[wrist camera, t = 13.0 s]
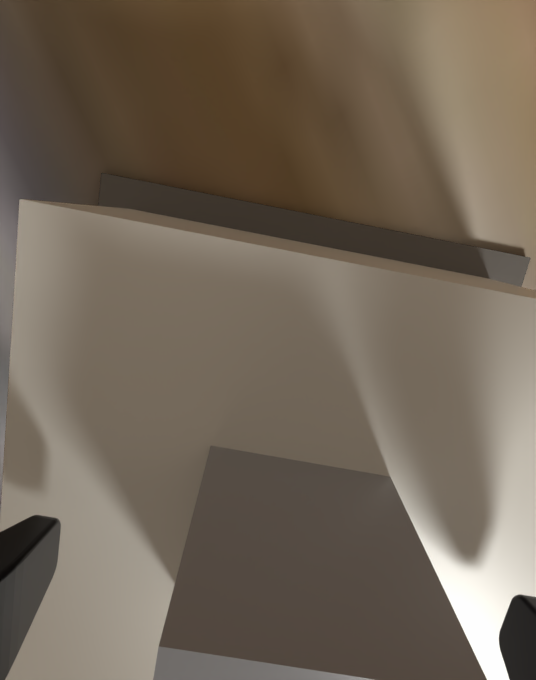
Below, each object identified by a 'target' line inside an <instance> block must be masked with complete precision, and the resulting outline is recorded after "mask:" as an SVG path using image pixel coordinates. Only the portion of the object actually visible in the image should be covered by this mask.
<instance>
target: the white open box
mask: <svg viewBox="0 0 536 680" xmlns="http://www.w3.org/2000/svg"><path fill="white" fill-rule="evenodd" d="M33 515H42V516H48V517H54V518H58V519H59V520H60V523H61V532H60V542H59V552H58V562H57V567H56V570H55V573H54V576H53V578H52V580H51V583H50V585H49V587H48V589H47V591H46V594H45V596H44V598H43V600H42V602H41V604H40V607H39V609H38V611H37V613H36V615H35V618H34V620H33V622H32V624H31V626H30V628H29V631H28V633H27V635H26V637H25V639H24V641H23V644H22V646H21V648H20V650H19V652H18V655H17V657H16V659H15V661H14V663H13V665H12V667H11V669H10V671H9V673H8V675H7V677H6V679H5V680H510V679H509V676H508V673H507V670H506V667H505V663H504V660H503V657H502V654H501V651H500V646H499V632H500V629H501V626H502V624H503V621H504V618H505V616H506V613H507V610H508V608H509V605H510V602H511V600H512V598H513V597H514V596H516V595H519V594H521V595H527V596H534V597H536V291H535V290H531V289H527V288H523V287H519V286H516V285H512V284H508V283H504V282H500V281H496V280H493V279H488V278H483V277H478V276H473V275H468V274H463V273H457V272H452V271H447V270H442V269H437V268H432V267H427V266H421V265H416V264H411V263H406V262H401V261H396V260H391V259H385V258H380V257H375V256H370V255H365V254H360V253H355V252H349V251H344V250H339V249H334V248H329V247H324V246H319V245H313V244H308V243H303V242H298V241H293V240H288V239H283V238H277V237H272V236H267V235H262V234H257V233H252V232H247V231H241V230H236V229H231V228H226V227H221V226H216V225H211V224H205V223H200V222H195V221H190V220H185V219H180V218H175V217H169V216H164V215H159V214H154V213H149V212H144V211H139V210H133V209H127V208H116V207H104V206H93V205H82V204H71V203H60V202H49V201H38V200H27V199H20V200H19V216H18V233H17V249H16V266H15V282H14V299H13V315H12V332H11V348H10V365H9V382H8V398H7V415H6V431H5V448H4V464H3V481H2V497H1V514H0V532H1V531H3V530H5V529H7V528H9V527H11V526H13V525H15V524H17V523H19V522H21V521H23V520H25V519H27V518H29V517H31V516H33Z"/></svg>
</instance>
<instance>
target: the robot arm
mask: <svg viewBox="0 0 536 680" xmlns="http://www.w3.org/2000/svg"><path fill="white" fill-rule="evenodd" d="M60 532H61V523H60V520H59V519H58V518H54V517H48V516H42V515H33V516H31V517H29V518H27V519H25V520H23V521H21V522H19V523H17V524H15V525H13V526H11V527H9V528H7V529H5V530H3V531H1V532H0V680H5V679H6V677H7V675H8V673H9V671H10V669H11V667H12V665H13V663H14V661H15V659H16V657H17V655H18V652H19V650H20V648H21V646H22V644H23V641H24V639H25V637H26V635H27V633H28V631H29V628H30V626H31V624H32V622H33V620H34V618H35V615H36V613H37V611H38V609H39V607H40V604H41V602H42V600H43V598H44V596H45V594H46V591H47V589H48V587H49V585H50V583H51V580H52V578H53V576H54V573H55V570H56V567H57V562H58V552H59V542H60ZM499 646H500V651H501V654H502V657H503V660H504V663H505V667H506V670H507V673H508V676H509V679H510V680H536V597H534V596H527V595H521V594H519V595H516V596H514V597H513V598H512V600H511V602H510V605H509V608H508V610H507V613H506V616H505V618H504V621H503V624H502V626H501V629H500V632H499Z"/></svg>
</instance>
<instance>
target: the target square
mask: <svg viewBox="0 0 536 680" xmlns="http://www.w3.org/2000/svg"><path fill="white" fill-rule="evenodd" d="M98 206H104V207H116V208H127V209H133V210H139V211H144V212H149V213H154V214H159V215H164V216H169V217H175V218H180V219H185V220H190V221H195V222H200V223H205V224H211V225H216V226H221V227H226V228H231V229H236V230H241V231H247V232H252V233H257V234H262V235H267V236H272V237H277V238H283V239H288V240H293V241H298V242H303V243H308V244H313V245H319V246H324V247H329V248H334V249H339V250H344V251H349V252H355V253H360V254H365V255H370V256H375V257H380V258H385V259H391V260H396V261H401V262H406V263H411V264H416V265H421V266H427V267H432V268H437V269H442V270H447V271H452V272H457V273H463V274H468V275H473V276H478V277H483V278H488V279H493V280H496V281H500V282H504V283H508V284H512V285H516V286H519V287H521V286H522V283H523V280H524V277H525V274H526V271H527V267H528V264H529V261H530V258H529V257H524V256H519V255H514V254H509V253H504V252H499V251H494V250H489V249H484V248H479V247H474V246H469V245H464V244H459V243H453V242H448V241H443V240H438V239H433V238H428V237H423V236H418V235H413V234H408V233H403V232H398V231H393V230H388V229H383V228H378V227H373V226H368V225H363V224H358V223H352V222H347V221H342V220H337V219H332V218H327V217H322V216H317V215H312V214H307V213H302V212H297V211H292V210H287V209H282V208H277V207H272V206H267V205H262V204H256V203H251V202H246V201H241V200H236V199H231V198H226V197H221V196H216V195H211V194H206V193H201V192H196V191H191V190H186V189H181V188H176V187H171V186H166V185H161V184H155V183H150V182H145V181H140V180H135V179H130V178H125V177H120V176H115V175H110V174H105V173H101V182H100V192H99V202H98Z"/></svg>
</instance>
